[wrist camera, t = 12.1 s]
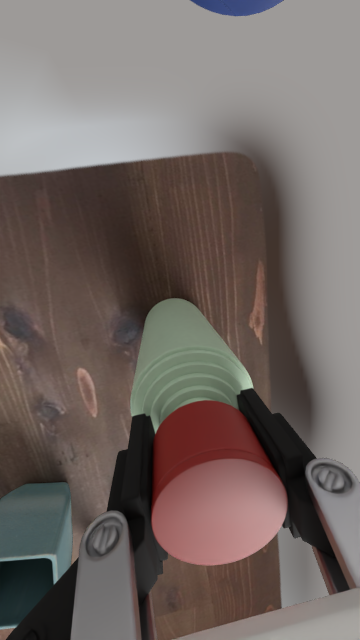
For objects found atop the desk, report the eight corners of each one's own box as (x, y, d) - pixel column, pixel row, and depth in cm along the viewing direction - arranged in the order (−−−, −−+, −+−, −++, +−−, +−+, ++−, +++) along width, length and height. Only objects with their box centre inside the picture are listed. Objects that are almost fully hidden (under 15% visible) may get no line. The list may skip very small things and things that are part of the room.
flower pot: (85, 467, 29) (55, 555, 20) (87, 523, 31) (60, 625, 23) (6, 469, 28) (-60, 563, 19) (14, 527, 30) (-43, 635, 22)
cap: (142, 477, 10) (136, 560, 7) (167, 390, 9) (171, 447, 6) (234, 490, 10) (261, 571, 8) (266, 409, 10) (309, 469, 7)
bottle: (151, 291, 25) (136, 390, 6) (211, 305, 26) (347, 427, 7) (138, 349, 26) (95, 566, 8) (195, 360, 27) (276, 578, 9)
